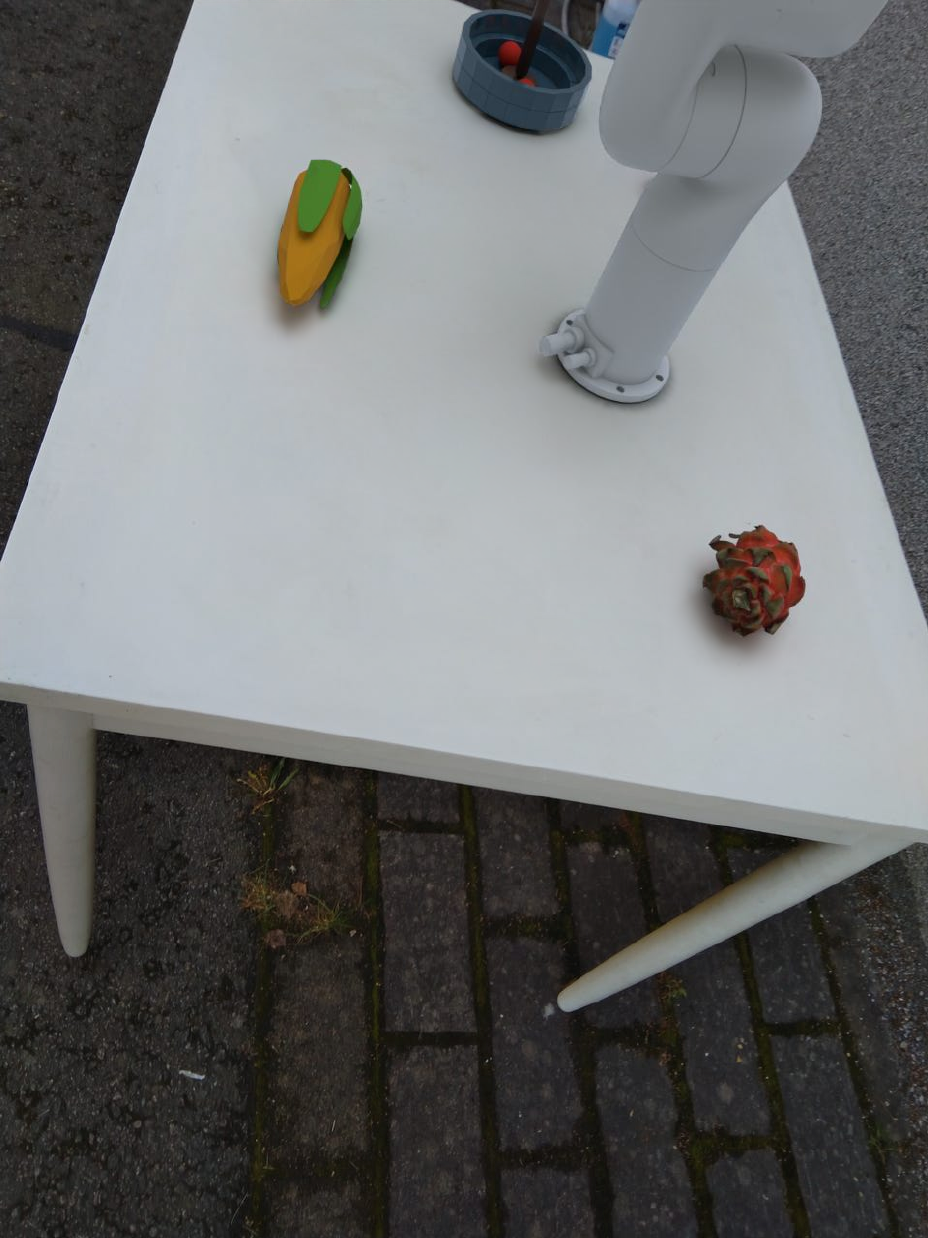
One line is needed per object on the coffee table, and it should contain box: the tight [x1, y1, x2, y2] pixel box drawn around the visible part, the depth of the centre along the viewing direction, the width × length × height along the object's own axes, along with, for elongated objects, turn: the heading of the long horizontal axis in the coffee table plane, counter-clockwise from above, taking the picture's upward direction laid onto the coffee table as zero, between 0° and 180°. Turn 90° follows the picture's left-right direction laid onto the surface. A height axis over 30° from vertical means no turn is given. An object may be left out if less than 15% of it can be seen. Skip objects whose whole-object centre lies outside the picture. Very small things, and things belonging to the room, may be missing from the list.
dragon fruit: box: [701, 523, 807, 638], centre depth 80 cm, size 8×8×12 cm
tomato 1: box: [498, 41, 521, 67], centre depth 115 cm, size 3×3×3 cm
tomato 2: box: [519, 79, 535, 87], centre depth 112 cm, size 3×3×3 cm
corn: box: [276, 159, 363, 308], centre depth 87 cm, size 7×8×20 cm
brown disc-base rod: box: [501, 0, 552, 87], centre depth 108 cm, size 5×5×16 cm
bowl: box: [451, 9, 593, 131], centre depth 113 cm, size 17×17×6 cm
